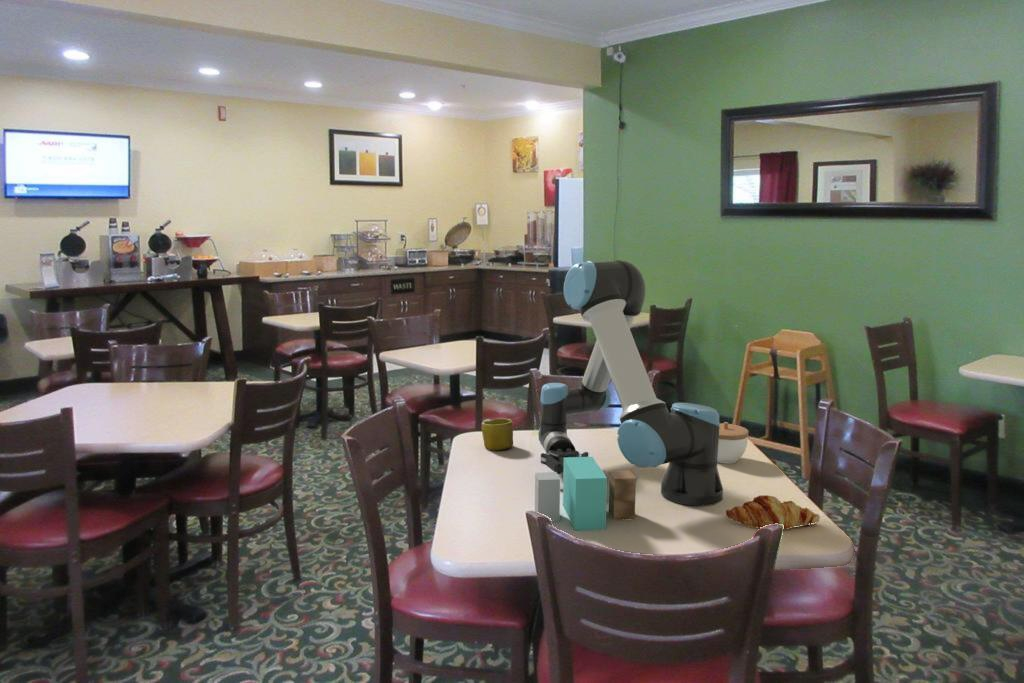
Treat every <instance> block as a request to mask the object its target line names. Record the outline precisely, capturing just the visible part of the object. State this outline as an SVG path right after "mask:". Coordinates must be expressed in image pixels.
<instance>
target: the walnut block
mask: <svg viewBox="0 0 1024 683" xmlns="http://www.w3.org/2000/svg"><path fill="white" fill-rule="evenodd" d="M608 474H609V477H608V479H609V480H608V507H607V508H608V510H607V512H608V514H609V515H610V517H611V519H612V521H628V519H633V520H635V517H636V488H637V477H636V476H635V475H634V473H632V471H631V470H618V471H609V472H608ZM623 519H624V520H623ZM625 519H627V520H625Z"/></svg>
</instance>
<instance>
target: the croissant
mask: <svg viewBox="0 0 1024 683" xmlns="http://www.w3.org/2000/svg"><path fill="white" fill-rule="evenodd" d="M725 516H726V517H727V518H728V519H730V520H732V521H734V522H737V523H740V524H741V525H743V526H746V527H748V526H749V528H754V529H755V528H756V527H758V528H756V529H760V527H763V526H765V525H769V524H775V523H778V524H783V525H784V529H786V530H788V529H787V528H790V527H794V526H800V525H805V524H809V523H810V524H811V523H815V522H817V523H819V521H820V519H821V516H820V515H819V514H818V513H815V512H814V511H812V510H811V509H809V508H808V507H805V508H804V507H803V508H802V506H800V505H797V504H796V503H795V502H794V501H792V500H788V501H783V502H782V501H781V500H780V499H778V497H776V496H773V495H767V494H765V495H757V496H756V497H753V499H752V500H751V501H750V500H749V501H746V502H744V503H743V504H742V506H741V505H736V506H734V507H732V508H730V509H726V510H725ZM815 524H816V523H815ZM805 526H806V525H805ZM794 528H795V527H794Z"/></svg>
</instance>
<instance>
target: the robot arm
mask: <svg viewBox="0 0 1024 683" xmlns="http://www.w3.org/2000/svg"><path fill="white" fill-rule="evenodd" d="M646 288H647V287H646V282H645V278H644V276H643V274H642V272H641V270H640V269H639V268H638V267H637V266H635V265H634V264H633V263H632V262H630V261H627V260H616V259H615V260H604V261H599V260H598V261H592V260H587V261H583V262H578V263H575V264H573V265H572V266H571V267H570V268H569V269H568V271H567V273H566V275H565V276H564V282H563V296H564V299H565V302H566V304H567V305H568V306H569V307H571V308H572V309H574V310H578V311H579V312H580V315H581V318H582V320H583V321H585V322H587V323H589V324H590V325H591V327H592V331H593V333H594V336H595V339H596V341H595V343H594V346H593V349H592V352H591V354H590V357H589V361H588V363H587V365H586V369H585V371H584V374H583V378H582V379H581V383H580V385H579V386H578V387H572V388H569V387H568V385H567V384H565V383H561V382H548V383H545V384H543V385H542V387H541V392H540V400H539V401H540V424H539V425H540V427H539V429H538V433H537V435H538V441H539V442H540V445H541V447H542V448H543V450H544V451H545V453H544V452H542V453H540V464H542V465H545V466H546V467H548V469H550V470H551V471H552V472H557V474H558V475H560V474H561V473H563V470H564V458H565V457H589V452H588V451H584V452H580V451H578V450H576V446H574V444H573V442H572V441H571V438H570V437H569V436H568V417H569V416H573V415H578V414H579V415H580V414H584V413H591V412H598V411H601V410H604V409H606V408H608V407H609V405H610V404H611V396H612V395H611V394H612V393H611V391H610V389H609V387H608V386H609V384H610V382H611V380H612V384H613V387H614V390H615V392H616V395H617V397H618V401H619V403H620V405H621V409H622V413H621V415H620V417H619V421H620V425H619V427H618V429H617V436H616V440H617V445H618V448H619V450H620V452H621V454H622V456H623V458H625V460H626V461H628V463H629V464H631V465H634V467H638V468H641V469H646V468H655V467H658V466H661V465H665V464H668V466H667V469H666V471H665V474H664V477H663V479H662V481H661V484H660V485H661V486H660V494H661V495H662V497H663V498H664V499H666V500H668V501H671V502H672V503H673V502H674V503H677V504H681V505H684V506H685V505H686V506H695V507H696V506H698V507H701V506H711V505H715V504H719V503H720V502H722V500H723V498H724V497H723V496H724V487H723V484H722V479H721V478H720V476H721V475H720V473H719V471H718V462H717V458H718V442H719V427H720V425H719V423H720V413H719V411H717V410H716V409H715V408H713V407H710V406H707V405H703V404H697V403H691V402H690V403H689V402H674V403H672V405H671V407H670V411H669V409H668V407H667V403H666V402H665V401H663V400H661V399H660V398H657V396H656V393H655V390H654V388H653V386H652V383H651V380H650V378H649V374H648V373H647V370H646V367H645V364H644V361H643V360H642V357H641V355H640V352H639V349H638V347H637V345H636V341H635V339H634V337H633V336H634V335H633V334H632V331H631V327H632V324H633V323H634V319H635V317H638V316H639V315H640V314H641V312H642V309H643V308H644V307H643V306H644V303H645V299H646Z"/></svg>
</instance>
